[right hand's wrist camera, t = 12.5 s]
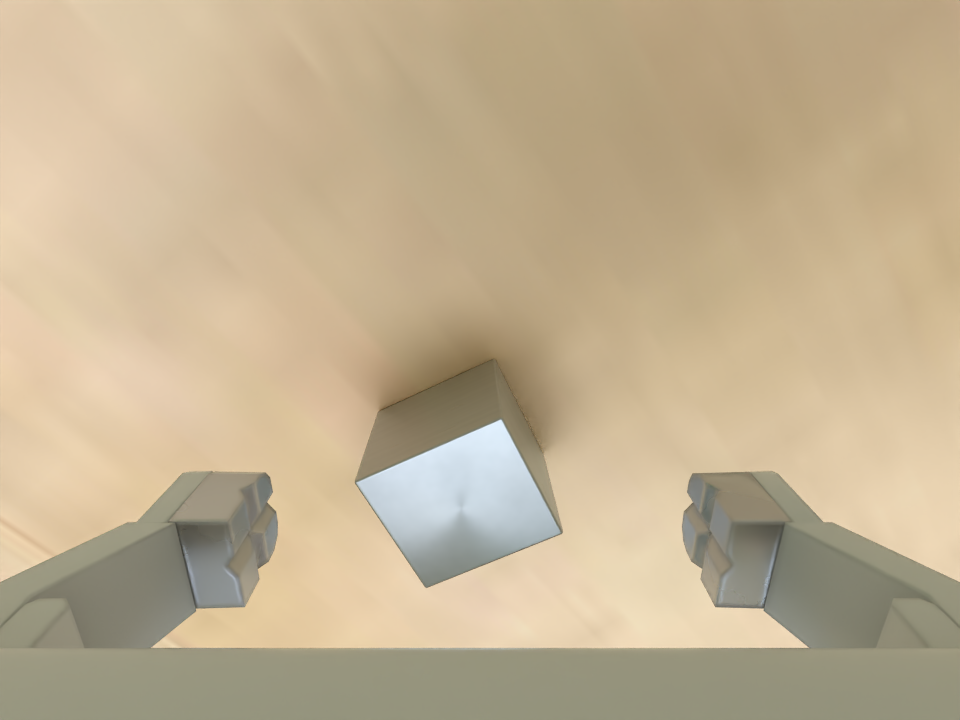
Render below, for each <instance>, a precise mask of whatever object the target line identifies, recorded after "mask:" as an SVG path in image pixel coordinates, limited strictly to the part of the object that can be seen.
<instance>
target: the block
mask: <svg viewBox="0 0 960 720" xmlns="http://www.w3.org/2000/svg"><path fill="white" fill-rule="evenodd" d="M355 484H356V485H357V487H358V488H359V490H360V491H361V493H362V494H363V496H364V497H365V499H366V500H367V502H368V503H369V505H370V506H371V508H372V509H373V511H374V512H375V514H376V515H377V516H378V518H379V519H380V521H381V522H382V524H383V525H384V527H385V528H386V530H387V531H388V533H389V534H390V536H391V537H392V539H393V540H394V542H395V543H396V545H397V546H398V548H399V549H400V551H401V552H402V554H403V555H404V557H405V558H406V560H407V561H408V563H409V564H410V565H411V567H412V568H413V570H414V571H415V573H416V574H417V576H418V577H419V579H420V580H421V582H422V583H423V585H424V586H425V587H426V588H428V587H430V586H433V585H435V584H438V583H440V582H443V581H445V580H448V579H450V578H453V577H455V576H458V575H460V574H463V573H465V572H468V571H470V570H473V569H475V568H478V567H480V566H483V565H485V564H488V563H490V562H493V561H495V560H498V559H500V558H503V557H505V556H508V555H510V554H513V553H515V552H518V551H520V550H523V549H525V548H528V547H530V546H533V545H535V544H538V543H540V542H543V541H545V540H548V539H550V538H553V537H555V536H558V535H560V534H562V533H563V530H562V526H561V522H560V518H559V514H558V510H557V506H556V502H555V498H554V494H553V490H552V486H551V482H550V478H549V474H548V470H547V466H546V462H545V458H544V455H543V453H542V451H541V449H540V447H539V445H538V443H537V441H536V439H535V437H534V435H533V433H532V431H531V429H530V427H529V425H528V423H527V421H526V419H525V417H524V415H523V413H522V411H521V409H520V407H519V405H518V403H517V402H516V400H515V398H514V396H513V394H512V392H511V390H510V388H509V386H508V384H507V382H506V380H505V378H504V376H503V374H502V372H501V370H500V368H499V366H498V364H497V362H496V360H494V359H492V360H490V361H488V362H486V363H484V364H482V365H479V366H477V367H475V368H473V369H471V370H468V371H466V372H464V373H462V374H460V375H457V376H455V377H453V378H451V379H449V380H447V381H444V382H442V383H440V384H438V385H436V386H433V387H431V388H429V389H427V390H425V391H423V392H420V393H418V394H416V395H414V396H412V397H409V398H407V399H405V400H403V401H401V402H398V403H396V404H394V405H392V406H390V407H388V408H385V409H383V410H381V411H379V412H378V414H377V417H376V420H375V423H374V426H373V429H372V432H371V435H370V438H369V441H368V444H367V447H366V449H365V452H364V455H363V458H362V461H361V464H360V467H359V470H358V473H357V476H356V479H355Z"/></svg>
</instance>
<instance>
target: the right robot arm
mask: <svg viewBox="0 0 960 720" xmlns="http://www.w3.org/2000/svg"><path fill="white" fill-rule="evenodd" d="M272 493H273V490H272V485H271V480H270V477H269V476H268V475H267V474H266V473H263V472H212V471H191V472H185V473H182V474H181V475H180V477H179V478H178V479H177V480H176V481H175V482H174V483H173V484H172V485H171V486H170V487H169V488H168V489H167V490H166V491H165V492H164V494H163V495H162V496H161V497H160V498H159V499H158V500H157V501H156V502H155V503H154V504H153V505H152V506H151V507H150V508H149V509H148V511H147V512H146V513H145V514H144V515H143V516H142V517H141V518H140V519H139V520H138V521H137V522H128V523H125V524H123V525H121V526H119V527H117V528H115V529H113V530H111V531H108V532H106V533H104V534H102V535H100V536H98V537H96V538H93V539H91V540H89V541H87V542H85V543H83V544H81V545H79V546H76V547H74V548H72V549H70V550H68V551H66V552H64V553H61V554H59V555H57V556H55V557H53V558H51V559H49V560H47V561H44V562H42V563H40V564H38V565H36V566H34V567H32V568H29V569H27V570H25V571H23V572H21V573H19V574H17V575H14V576H12V577H10V578H8V579H6V580H4V581H2V582H0V720H960V582H958V581H956V580H954V579H952V578H949V577H947V576H945V575H943V574H941V573H939V572H937V571H935V570H932V569H930V568H928V567H926V566H924V565H922V564H920V563H918V562H915V561H913V560H911V559H909V558H907V557H905V556H903V555H901V554H898V553H896V552H894V551H892V550H890V549H888V548H886V547H884V546H881V545H879V544H877V543H875V542H873V541H871V540H869V539H866V538H864V537H862V536H860V535H858V534H856V533H854V532H852V531H849V530H847V529H845V528H843V527H841V526H839V525H837V524H835V523H832V522H823V521H822V520H821V519H820V518H819V517H818V516H817V515H816V514H815V513H814V512H813V510H812V509H811V508H810V507H809V506H808V505H807V504H806V503H805V502H804V501H803V500H802V499H801V498H800V497H799V496H798V495H797V493H796V492H795V491H794V490H793V489H792V488H791V487H790V486H789V485H788V484H787V483H786V482H785V481H784V480H783V479H782V477H781V476H780V475H779V474H777V473H775V472H773V471H757V472H731V473H693V474H692V476H691V478H690V480H689V484H688V490H687V493H688V494H689V496H690V498H691V499H692V501H693V503H692V504H691V505H690V506H689V507H688V508H687V509H686V510H685V511H684V516H683V524H682V531H683V541H684V545H685V548H686V551H687V554H688V556H689V558H690V560H691V562H693V563H694V564H696V565H697V566H699V567H700V568H702V574H701V581H702V583H703V585H704V587H705V588H706V590H707V592H708V594H709V596H710V598H711V600H712V602H713V604H714V606H715V607H729V608H764V611H765V612H766V613H767V614H768V615H770V616H771V617H772V618H773V619H775V620H776V621H777V622H778V623H780V624H781V625H782V626H783V627H785V628H786V629H787V630H788V631H789V632H791V633H792V634H793V635H794V636H796V637H797V638H798V639H799V640H801V641H802V642H803V643H804V644H806V645H807V646H808V647H809V648H151V647H152V646H153V645H155V644H156V643H157V642H158V641H160V640H161V639H162V638H163V637H165V636H166V635H167V634H168V633H169V632H171V631H172V630H173V629H174V628H176V627H177V626H178V625H179V624H181V623H182V622H183V621H184V620H186V619H187V618H188V617H189V616H191V615H192V614H193V613H194V612H195V611H196V608H230V607H245V606H246V604H247V602H248V600H249V598H250V596H251V594H252V592H253V590H254V589H255V587H256V585H257V583H258V581H259V574H258V568H260V567H261V566H263V565H264V564H266V563H267V562H269V560H270V558H271V555H272V553H273V551H274V548H275V544H276V539H277V533H278V522H277V515H276V511H275V510H274V509H273V508H272V507H271V506H270V505H269V504H268V503H267V501H268V499H269V498H270V496H271V494H272Z"/></svg>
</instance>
